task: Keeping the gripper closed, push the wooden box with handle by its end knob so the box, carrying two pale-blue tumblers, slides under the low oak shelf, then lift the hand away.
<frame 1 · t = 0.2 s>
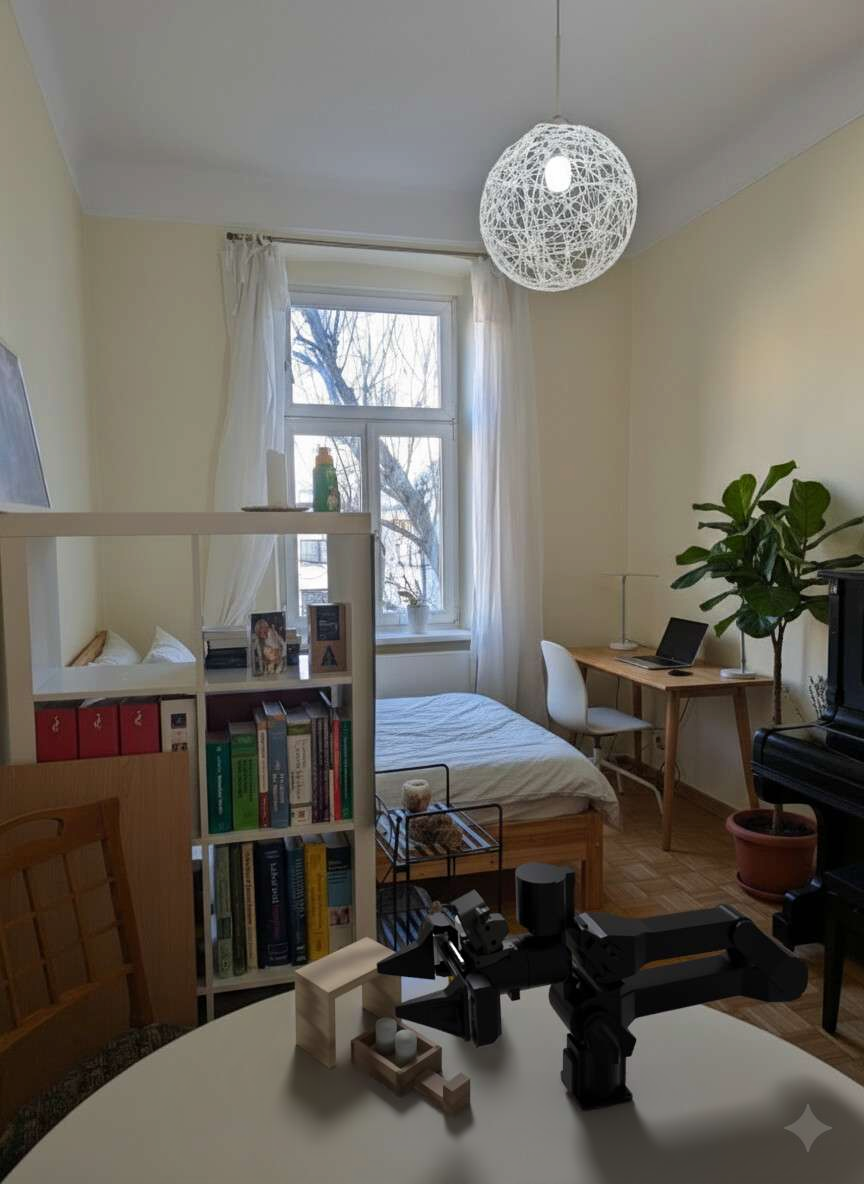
hand: (385, 988, 87), 16 cm above the table, tool horizontal, fingers open, 9 cm apart
shelf: (349, 1033, 105), on the table
supplement bottle: (472, 1008, 111), on the table
wooden box with handle: (396, 1065, 99), on the table
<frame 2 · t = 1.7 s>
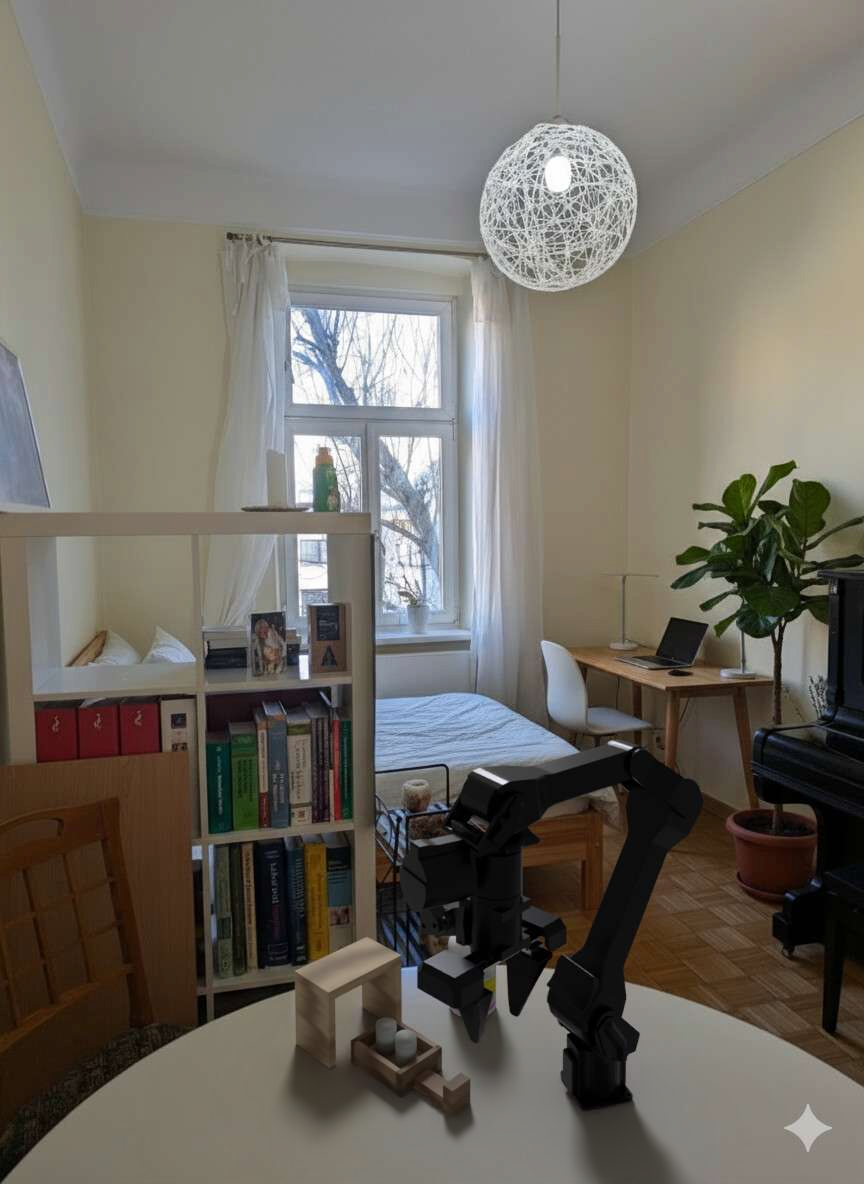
hand: (495, 1027, 87), 12 cm above the table, tool pointing down, fingers open, 6 cm apart
nothing on the table moved.
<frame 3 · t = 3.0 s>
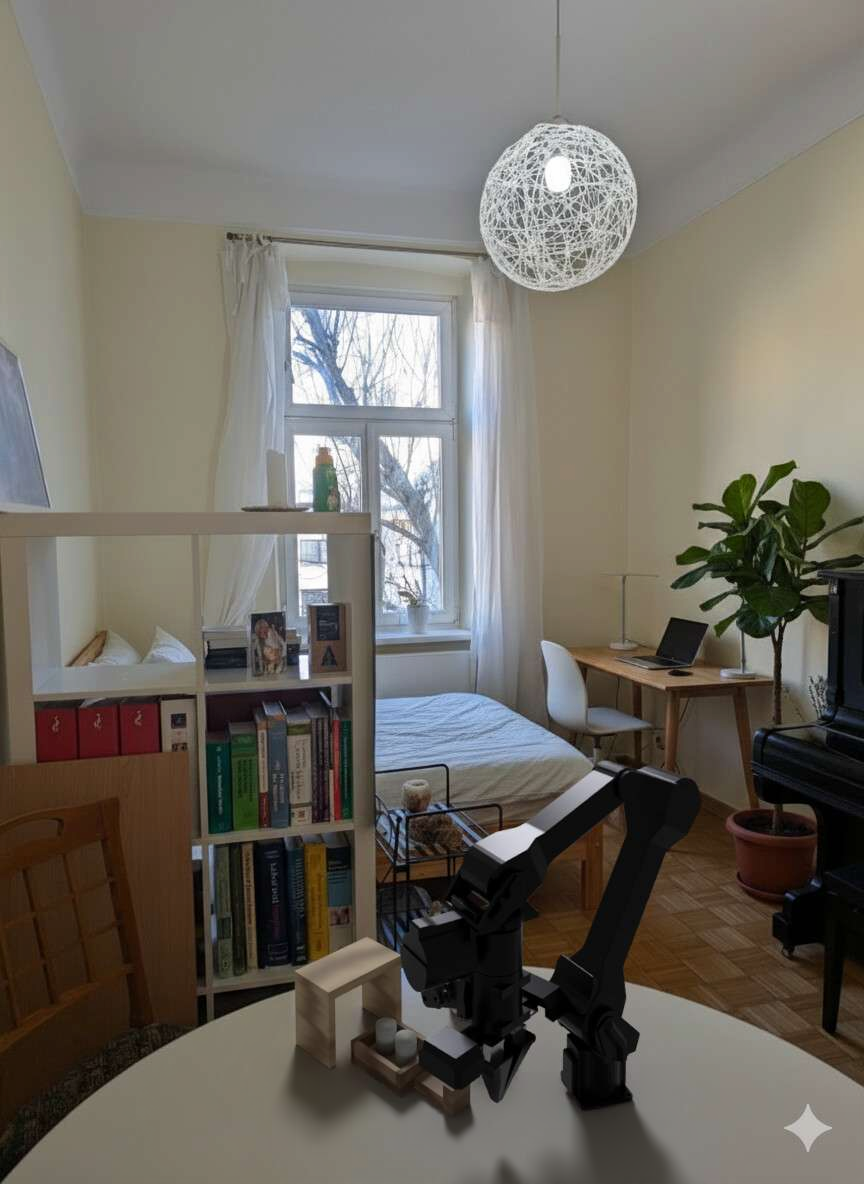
hand: (496, 1099, 87), 4 cm above the table, tool pointing down, fingers closed
nothing on the table moved.
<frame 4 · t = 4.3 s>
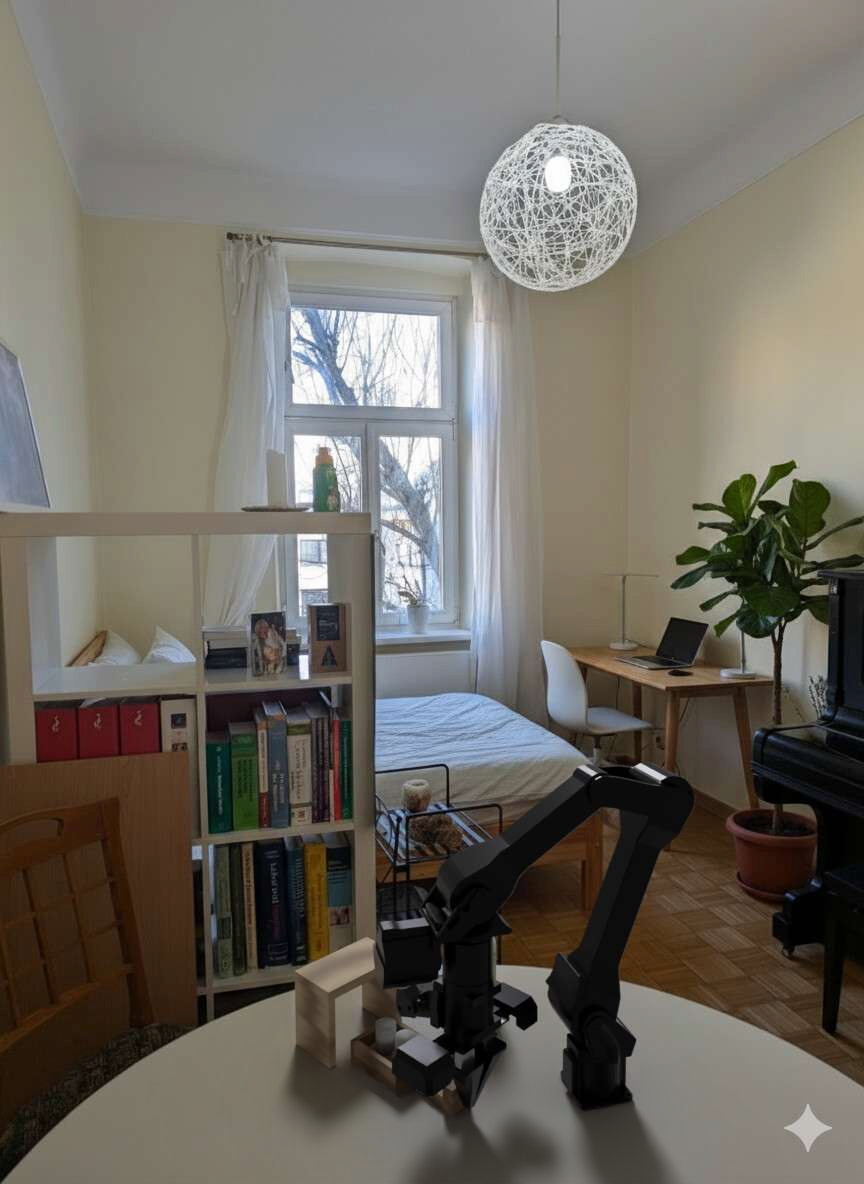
hand: (468, 1106, 90), 1 cm above the table, tool pointing down, fingers closed, pressing on wooden box with handle
wooden box with handle: (395, 1065, 99), on the table, touching gripper
everything else where it was.
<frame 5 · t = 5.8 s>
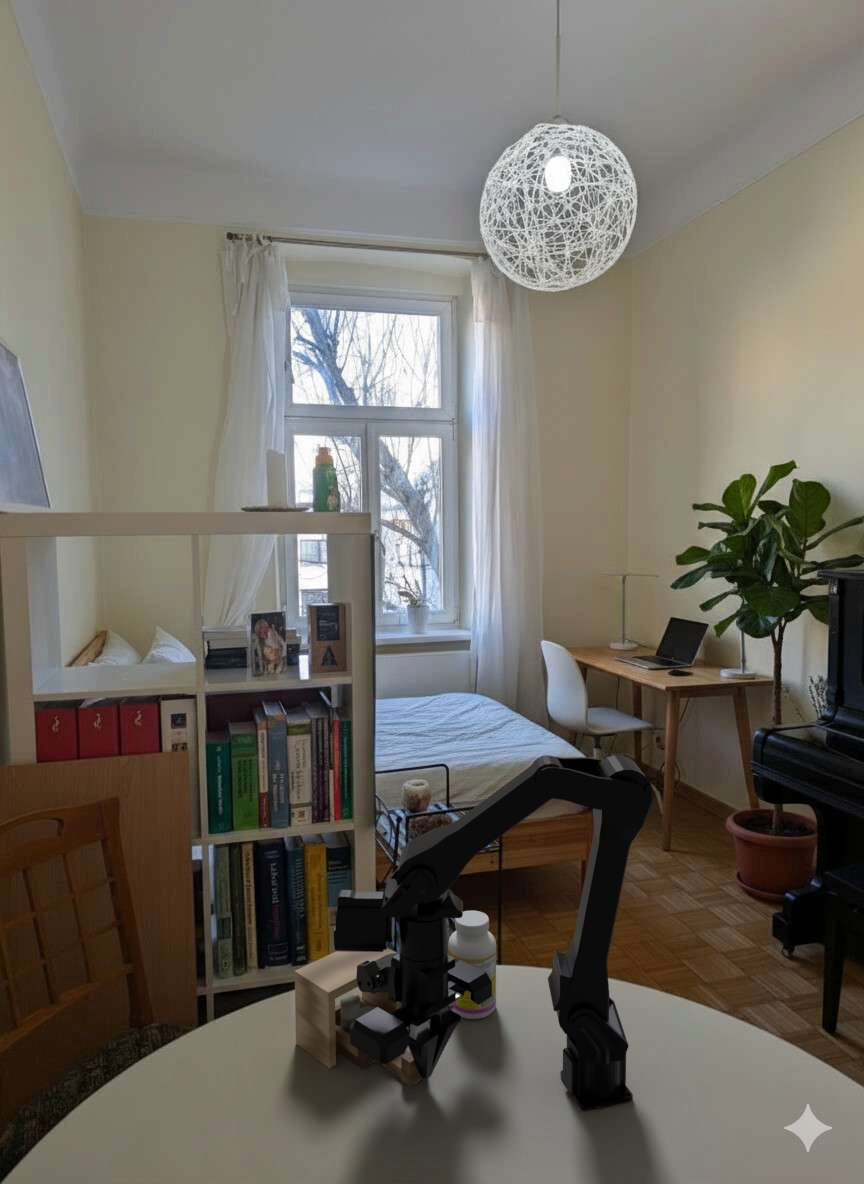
hand: (425, 1076, 95), 1 cm above the table, tool pointing down, fingers closed, pressing on wooden box with handle
wooden box with handle: (359, 1040, 104), on the table, touching gripper
everything else where it was.
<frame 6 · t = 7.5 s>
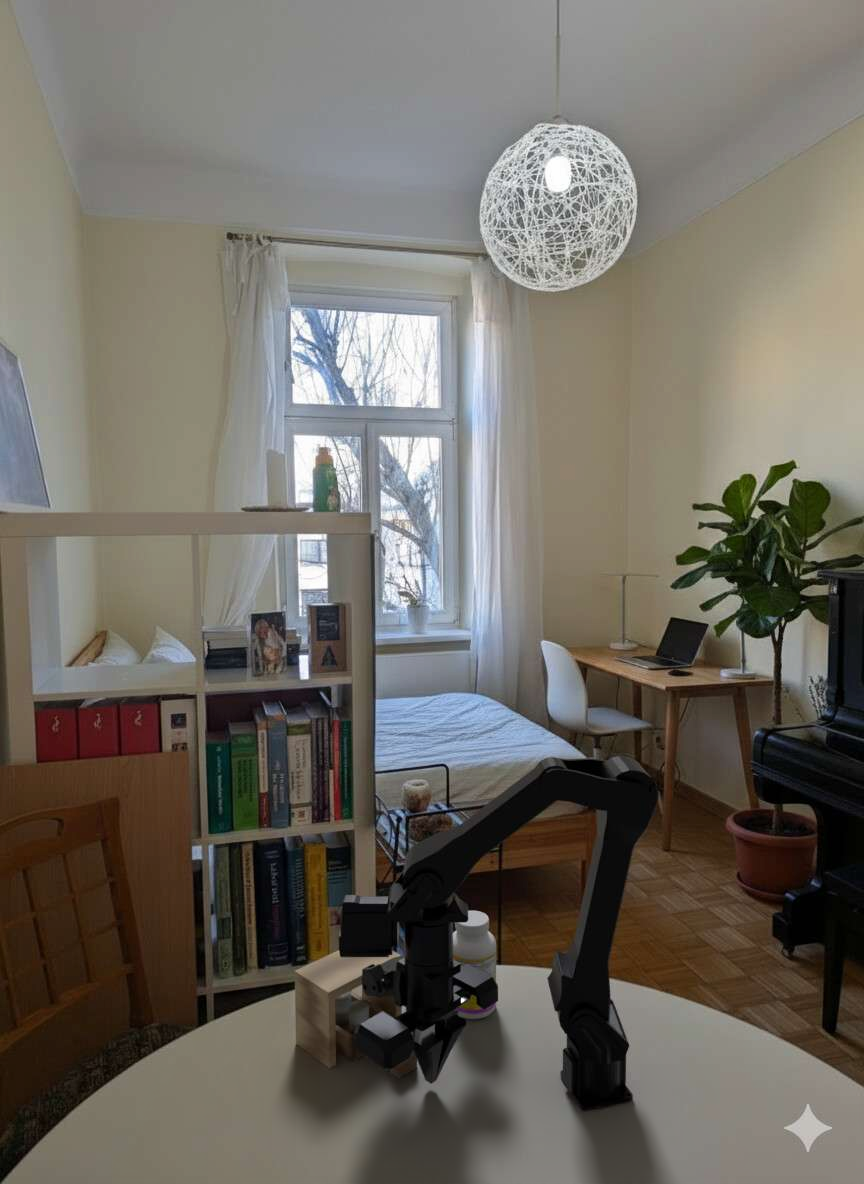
hand: (430, 1080, 95), 1 cm above the table, tool pointing down, fingers closed
wooden box with handle: (350, 1033, 105), on the table
everything else where it was.
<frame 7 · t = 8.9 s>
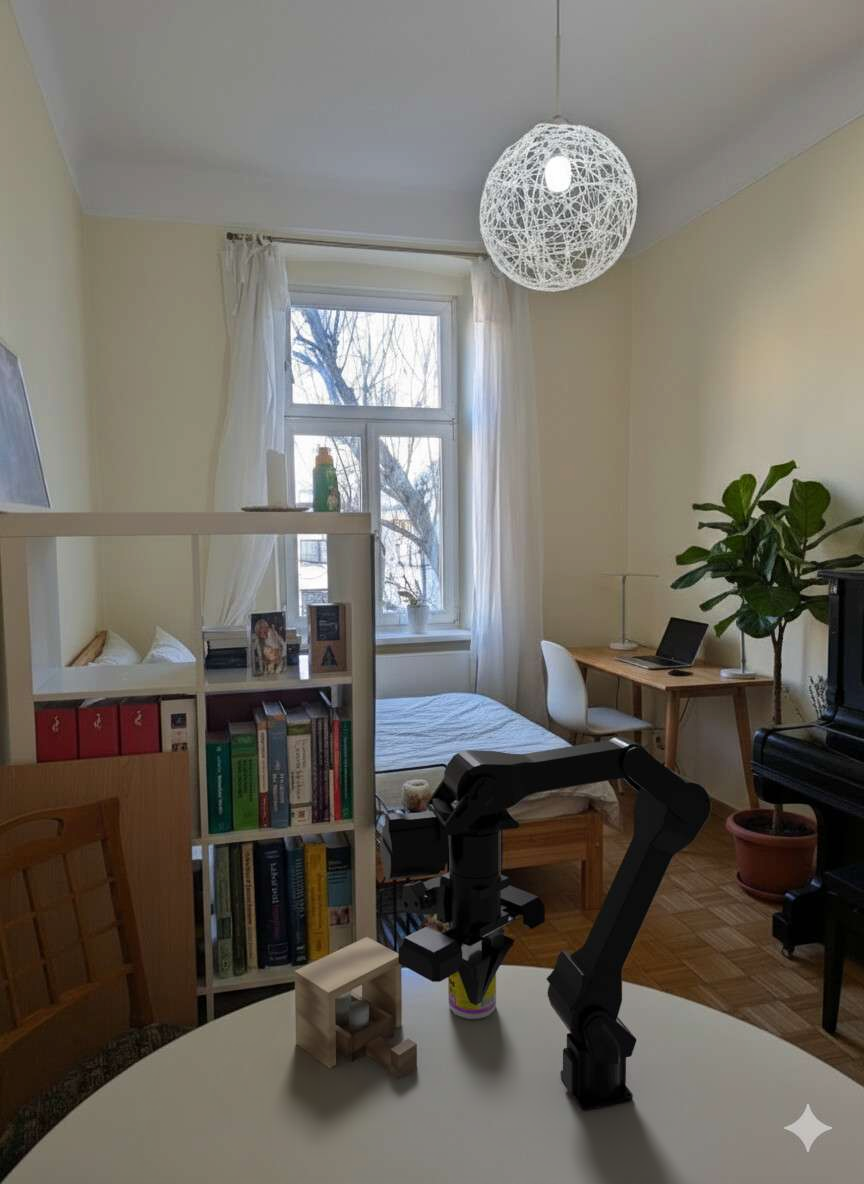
hand: (475, 1002, 90), 13 cm above the table, tool pointing down, fingers closed
nothing on the table moved.
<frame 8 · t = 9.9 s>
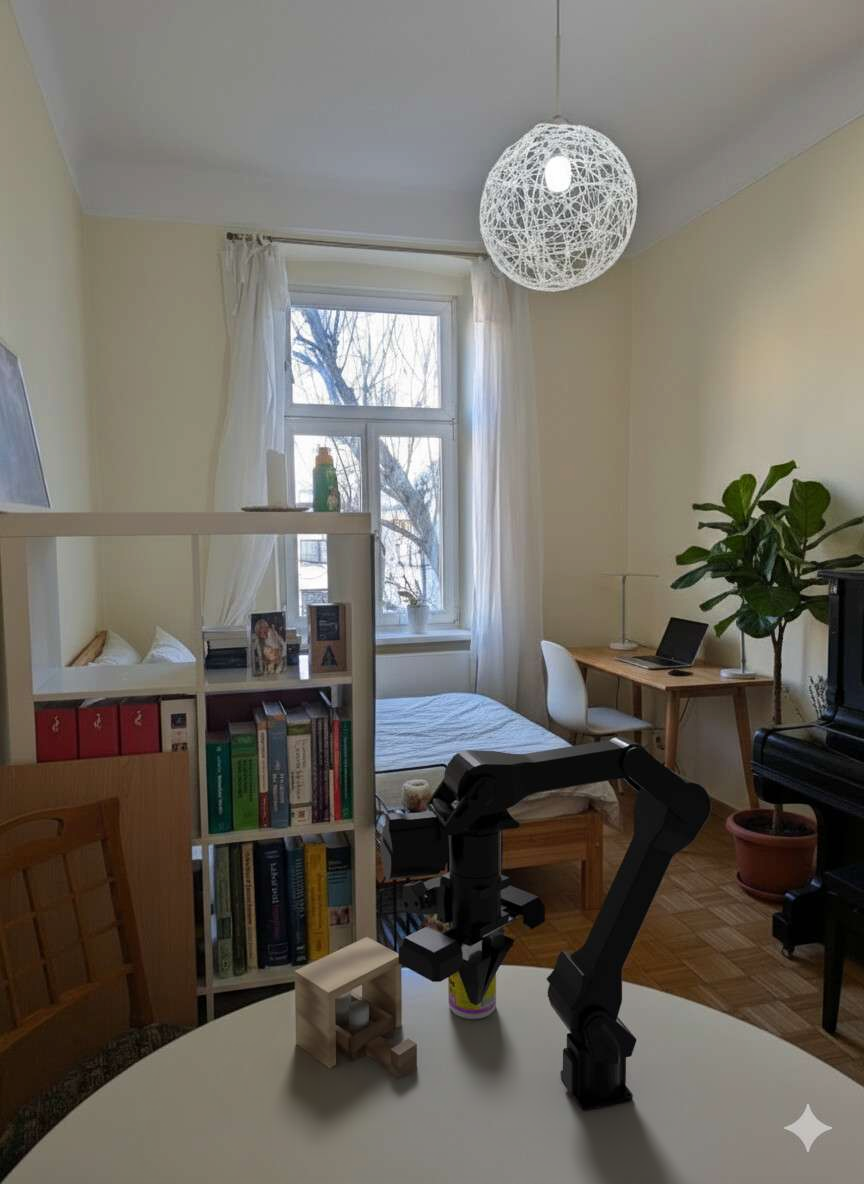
hand: (475, 1002, 90), 13 cm above the table, tool pointing down, fingers closed
nothing on the table moved.
at the end: wooden box with handle 0.1 cm from the shelf (horizontally); wooden box with handle on the table; wooden box with handle tilted 0° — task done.
